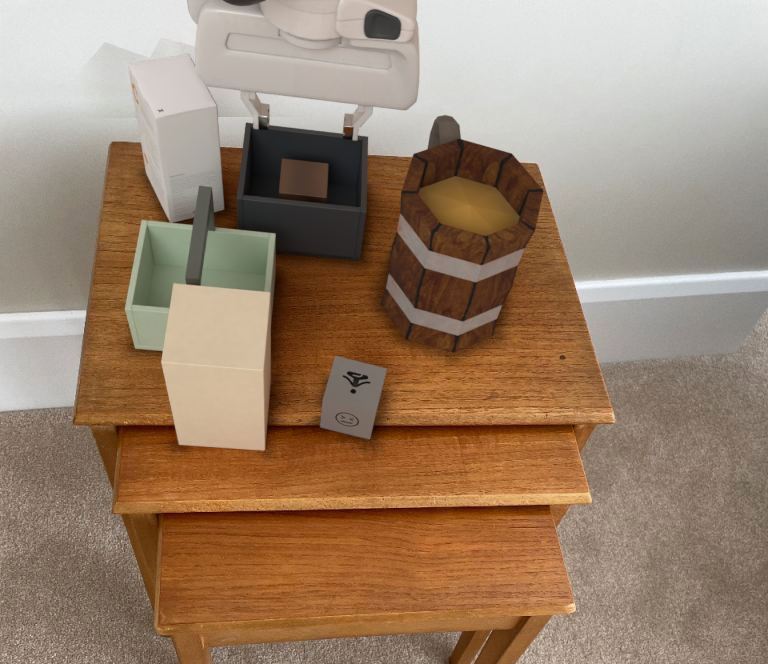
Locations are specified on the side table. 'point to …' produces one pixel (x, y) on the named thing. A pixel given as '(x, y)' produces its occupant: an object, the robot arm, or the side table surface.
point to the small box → (177, 133)
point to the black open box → (298, 218)
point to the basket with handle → (192, 266)
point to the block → (303, 181)
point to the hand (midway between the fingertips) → (306, 130)
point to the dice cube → (352, 397)
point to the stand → (218, 366)
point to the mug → (458, 239)
